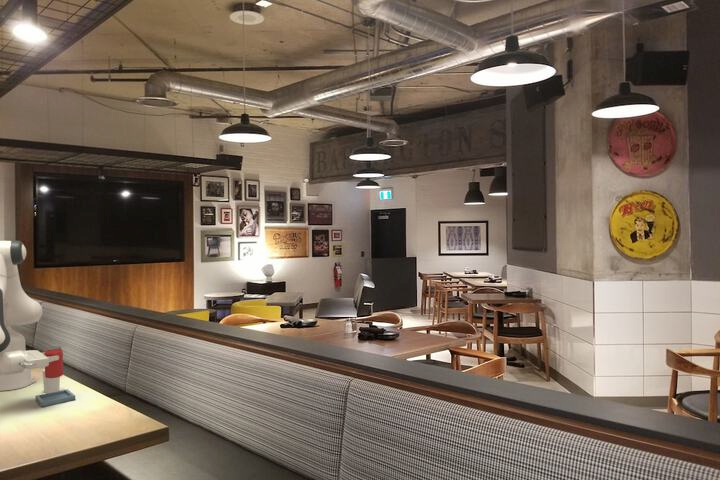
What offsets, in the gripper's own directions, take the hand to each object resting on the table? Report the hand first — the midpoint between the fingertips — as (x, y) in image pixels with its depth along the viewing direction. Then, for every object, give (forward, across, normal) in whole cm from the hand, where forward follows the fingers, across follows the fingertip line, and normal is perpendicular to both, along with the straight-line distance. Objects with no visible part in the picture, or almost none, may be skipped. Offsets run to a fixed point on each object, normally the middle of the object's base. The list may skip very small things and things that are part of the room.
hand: (56, 355), depth 216 cm
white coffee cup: (+1, +15, +19) cm, 24 cm away
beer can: (-1, 0, +9) cm, 9 cm away
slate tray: (-1, 0, +19) cm, 19 cm away
